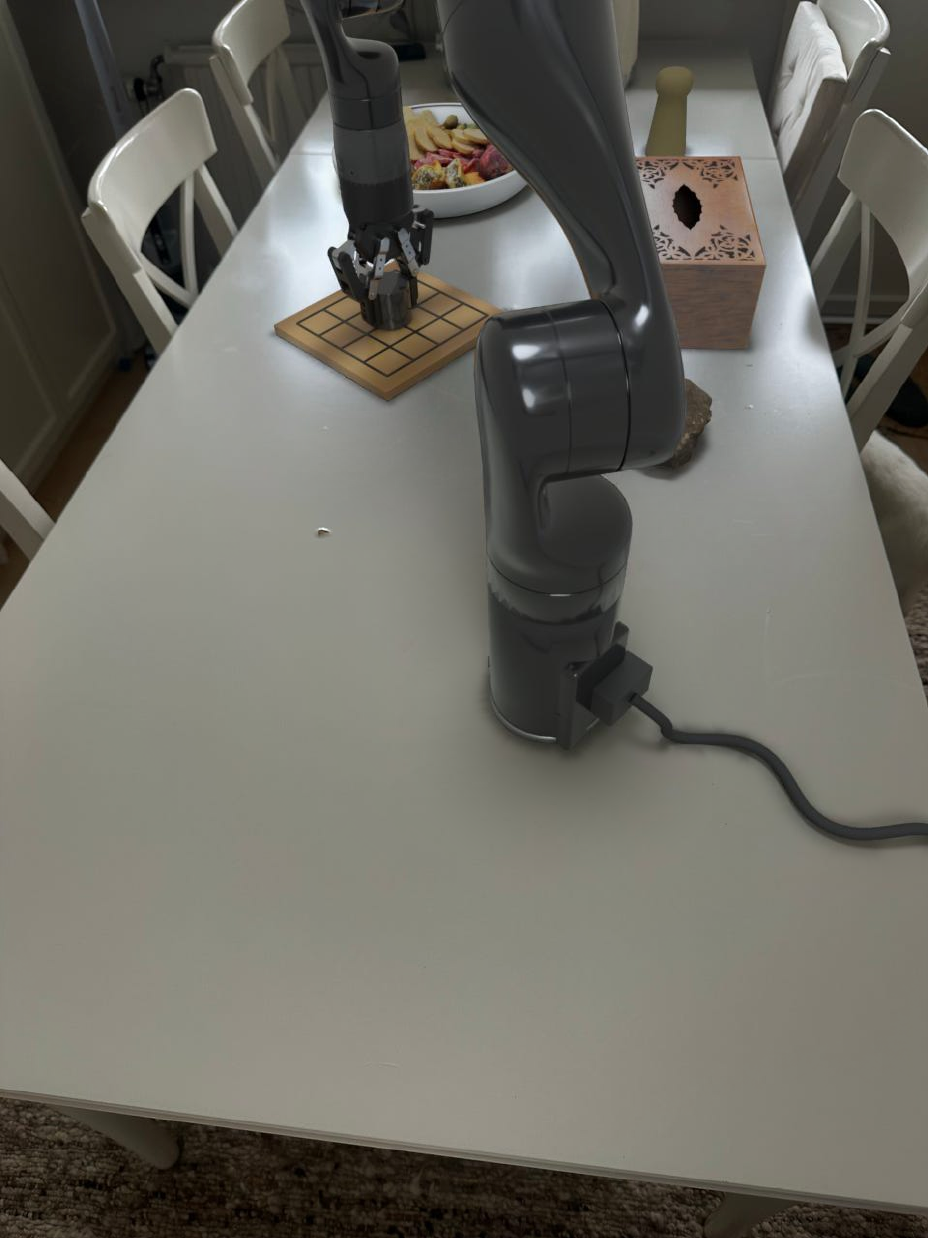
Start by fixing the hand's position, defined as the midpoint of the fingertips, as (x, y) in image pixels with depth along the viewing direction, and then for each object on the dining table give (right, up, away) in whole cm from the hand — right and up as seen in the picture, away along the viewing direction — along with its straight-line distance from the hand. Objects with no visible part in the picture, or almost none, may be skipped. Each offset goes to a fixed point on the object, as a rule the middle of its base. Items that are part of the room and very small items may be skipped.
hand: (391, 313), depth 101 cm
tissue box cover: (+34, +5, +5) cm, 35 cm away
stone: (+26, -17, -13) cm, 33 cm away
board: (0, -1, +2) cm, 2 cm away
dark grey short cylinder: (0, 0, 0) cm, 1 cm away
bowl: (+5, +29, +26) cm, 39 cm away
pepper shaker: (+39, +34, +28) cm, 59 cm away
